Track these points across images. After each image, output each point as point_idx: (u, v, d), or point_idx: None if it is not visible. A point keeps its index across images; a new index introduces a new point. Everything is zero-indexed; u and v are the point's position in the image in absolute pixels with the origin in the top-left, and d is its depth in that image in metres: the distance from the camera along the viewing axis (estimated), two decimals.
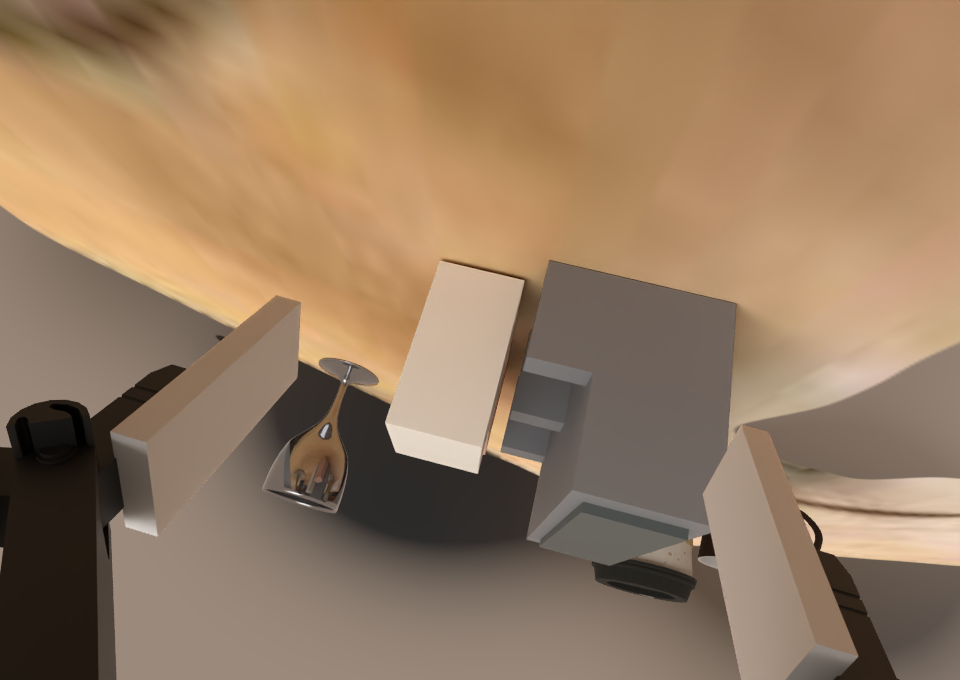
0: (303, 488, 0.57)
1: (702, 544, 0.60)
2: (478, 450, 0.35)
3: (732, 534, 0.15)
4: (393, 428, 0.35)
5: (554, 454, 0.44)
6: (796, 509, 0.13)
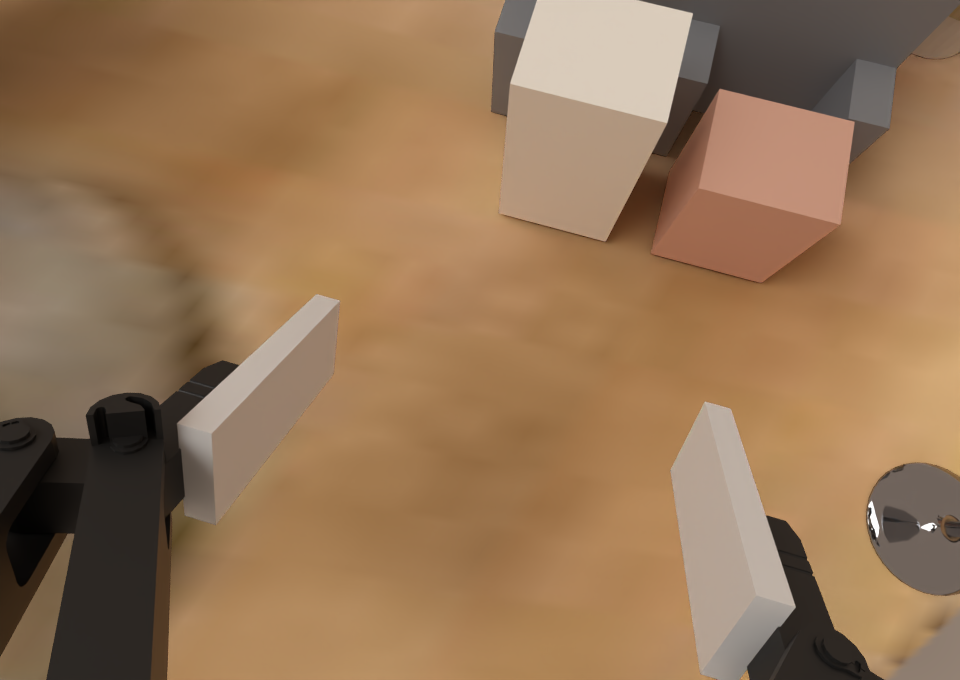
0: None
1: None
2: None
3: (693, 504, 0.15)
4: (531, 80, 0.25)
5: (741, 3, 0.31)
6: (750, 477, 0.14)
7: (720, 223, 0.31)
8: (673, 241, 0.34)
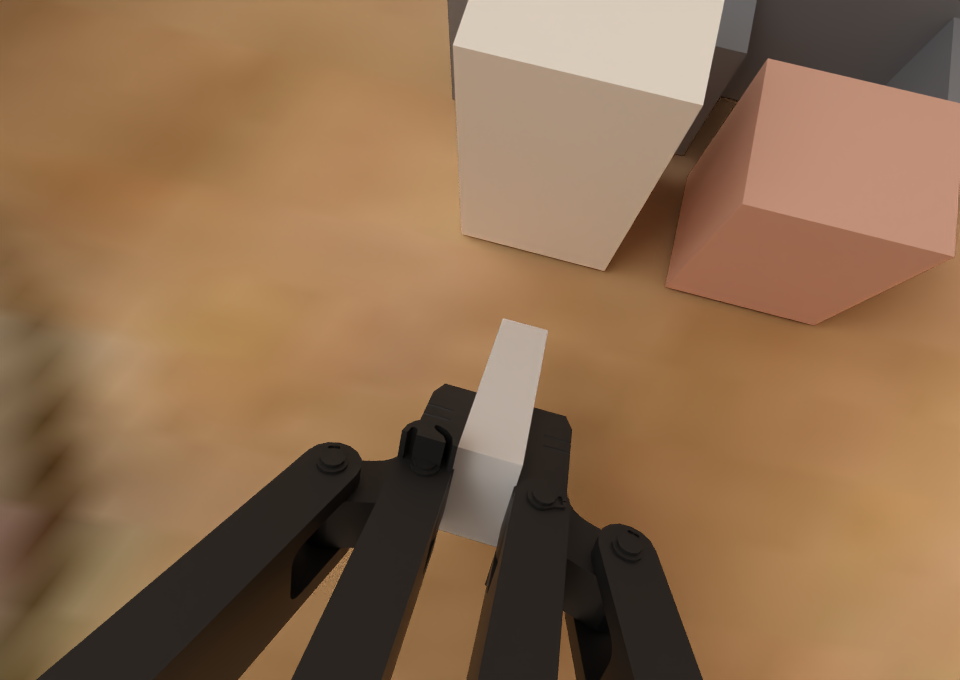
0: None
1: None
2: None
3: None
4: (486, 39, 0.16)
5: None
6: (535, 378, 0.16)
7: (768, 252, 0.22)
8: (697, 272, 0.25)
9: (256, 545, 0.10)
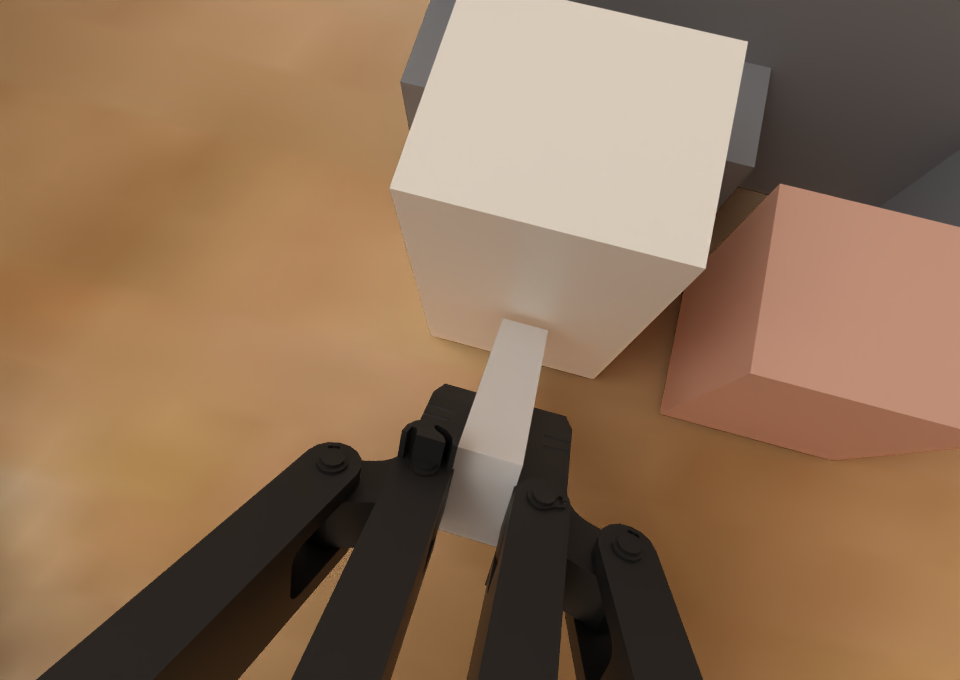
0: None
1: None
2: None
3: None
4: (432, 180, 0.13)
5: (812, 33, 0.18)
6: (535, 379, 0.16)
7: (780, 409, 0.18)
8: (697, 410, 0.21)
9: (256, 545, 0.10)
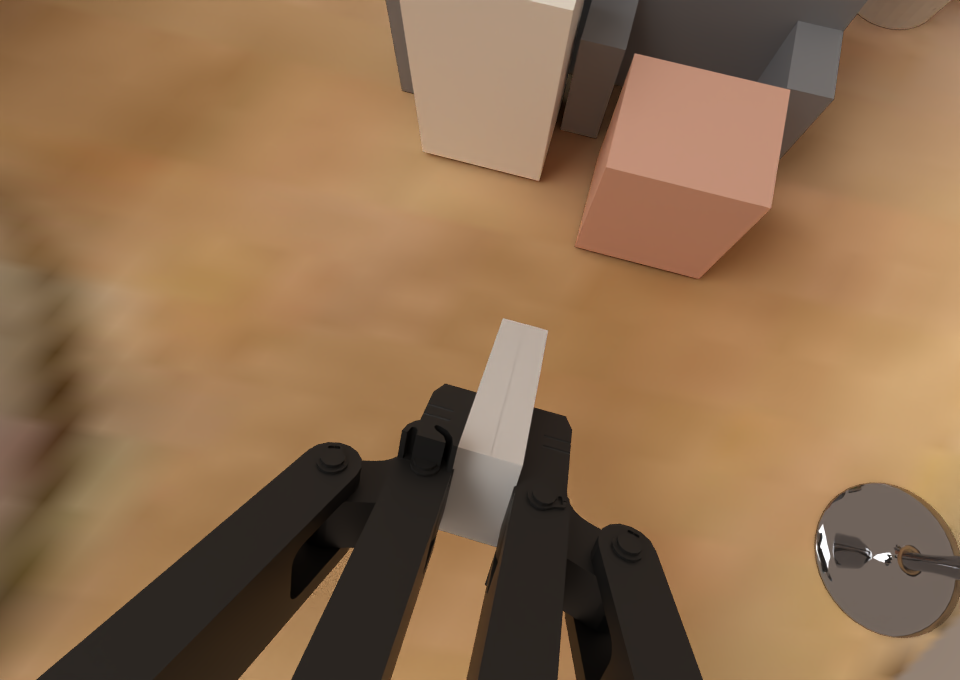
0: None
1: None
2: None
3: None
4: None
5: None
6: (535, 379, 0.16)
7: (639, 210, 0.27)
8: (594, 231, 0.30)
9: (256, 545, 0.10)
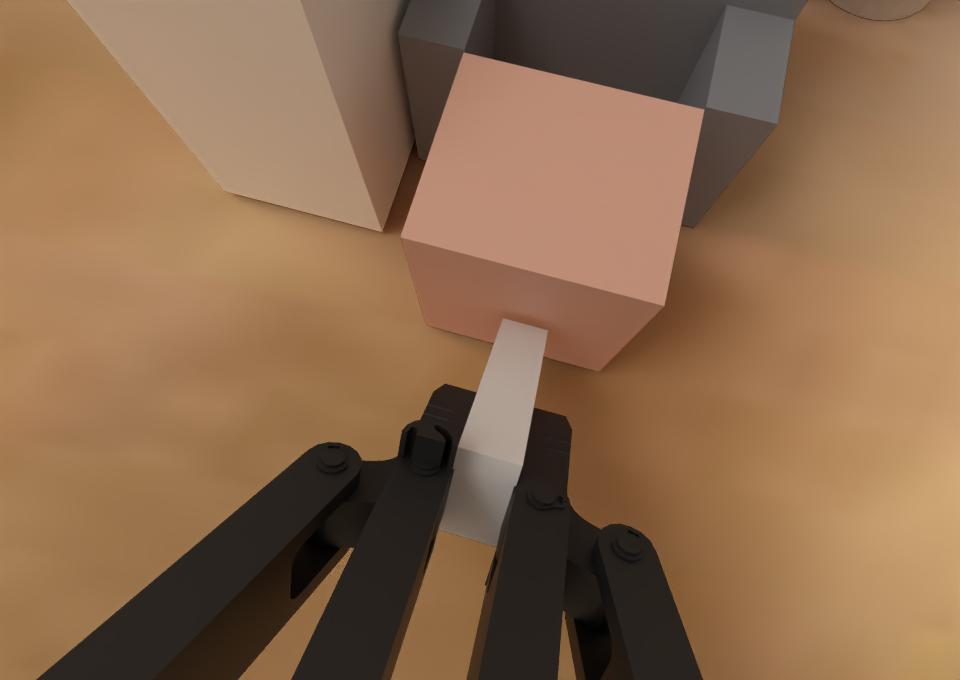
0: None
1: None
2: None
3: None
4: None
5: None
6: (535, 378, 0.16)
7: (480, 293, 0.17)
8: (439, 311, 0.20)
9: (256, 545, 0.10)
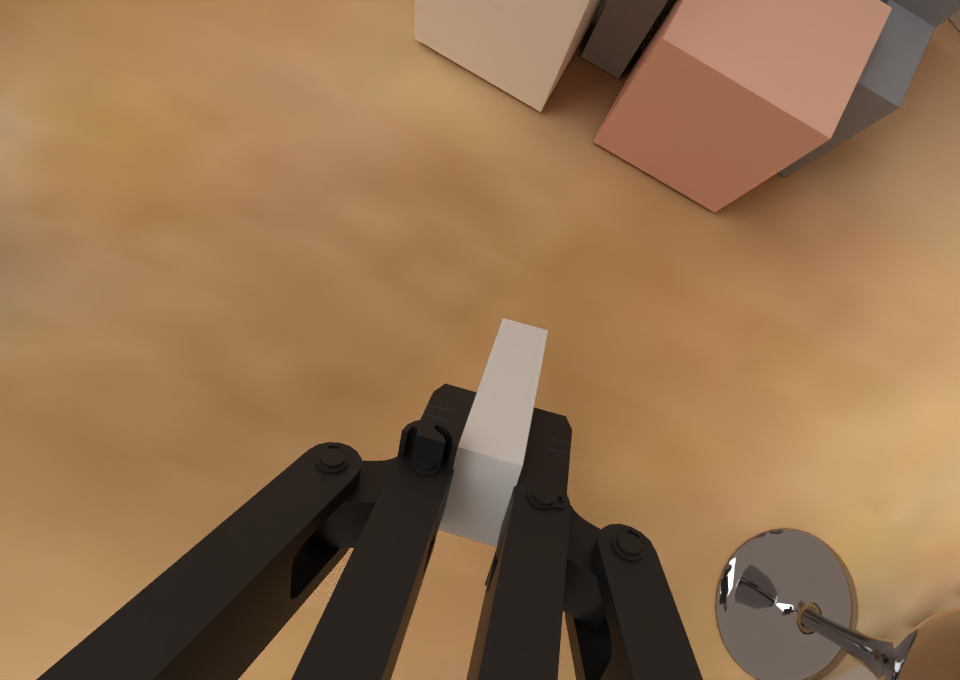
0: None
1: None
2: None
3: None
4: None
5: None
6: (535, 378, 0.16)
7: (681, 108, 0.23)
8: (621, 126, 0.26)
9: (256, 545, 0.10)
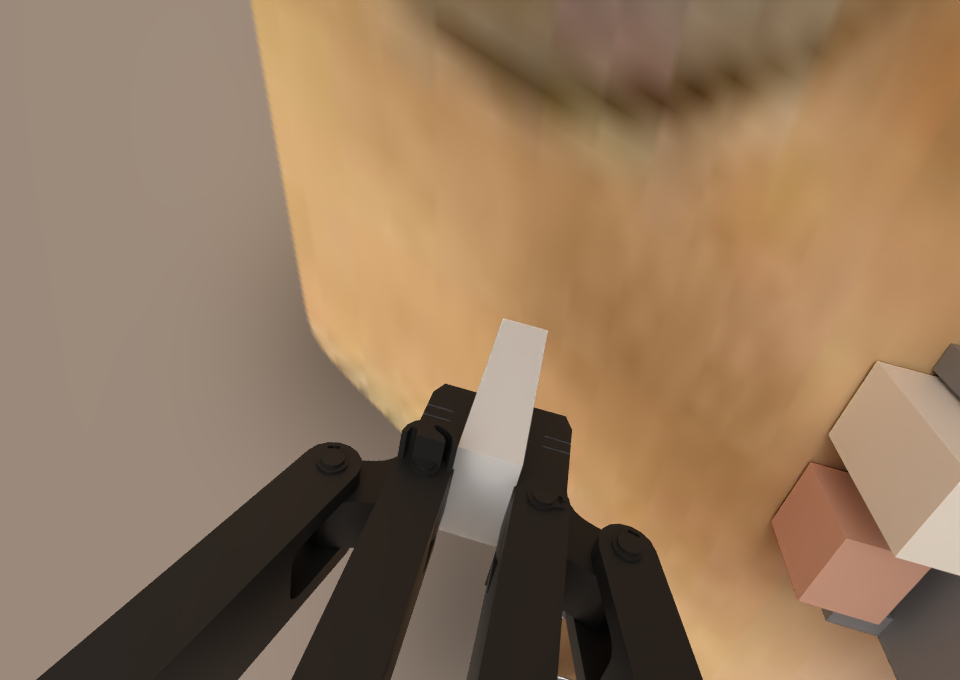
0: None
1: None
2: None
3: None
4: None
5: None
6: (535, 378, 0.16)
7: (818, 530, 0.43)
8: (815, 487, 0.45)
9: (256, 545, 0.10)
